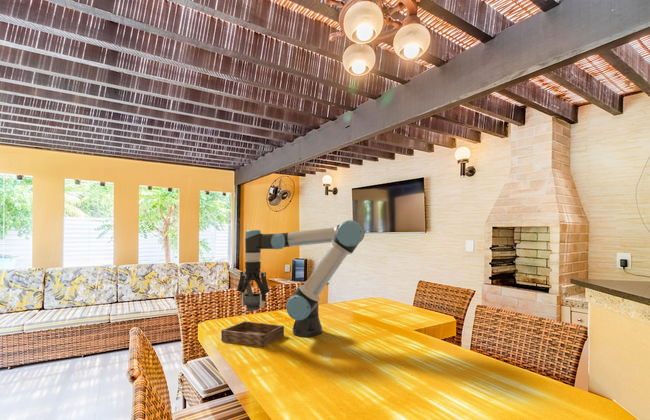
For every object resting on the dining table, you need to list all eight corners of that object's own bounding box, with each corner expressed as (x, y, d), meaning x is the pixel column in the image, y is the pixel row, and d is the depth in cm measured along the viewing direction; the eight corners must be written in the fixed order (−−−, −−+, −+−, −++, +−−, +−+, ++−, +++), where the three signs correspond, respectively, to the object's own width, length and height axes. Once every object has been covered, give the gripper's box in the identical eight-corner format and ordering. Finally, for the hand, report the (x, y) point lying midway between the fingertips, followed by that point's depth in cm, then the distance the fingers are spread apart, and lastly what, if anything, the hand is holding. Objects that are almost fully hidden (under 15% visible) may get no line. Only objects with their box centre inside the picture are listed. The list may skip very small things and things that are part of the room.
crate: (283, 336, 175) (283, 325, 175) (262, 347, 159) (262, 336, 159) (244, 330, 185) (244, 321, 185) (221, 340, 169) (221, 330, 169)
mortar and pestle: (266, 309, 172) (266, 284, 172) (249, 312, 165) (249, 286, 166) (254, 305, 180) (254, 282, 181) (238, 308, 174) (238, 284, 174)
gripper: (276, 261, 172) (276, 306, 171) (239, 259, 182) (239, 303, 181) (267, 262, 166) (267, 310, 164) (229, 261, 175) (229, 306, 174)
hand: (252, 306), depth 173 cm, fingers closed on mortar and pestle, 10 cm apart
